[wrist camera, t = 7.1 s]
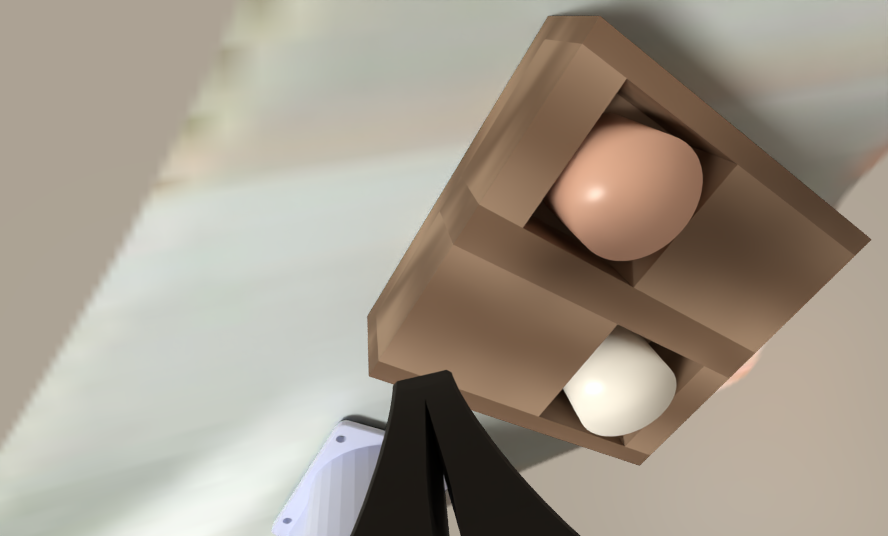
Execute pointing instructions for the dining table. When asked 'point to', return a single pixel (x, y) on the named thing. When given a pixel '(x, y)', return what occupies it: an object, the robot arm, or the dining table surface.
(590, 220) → the peach egg
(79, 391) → the dining table surface
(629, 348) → the knob cream
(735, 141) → the wooden egg crate
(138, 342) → the dining table surface
